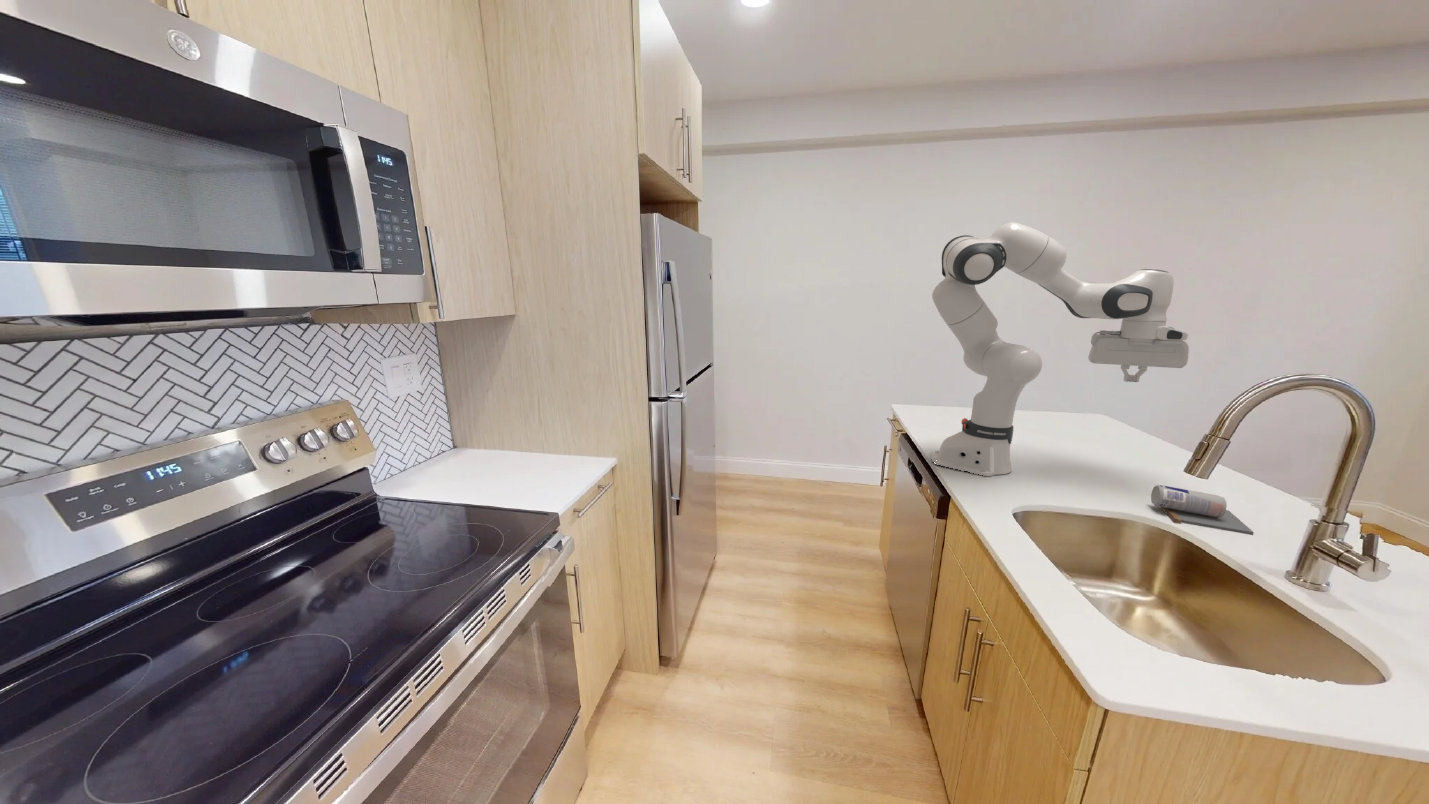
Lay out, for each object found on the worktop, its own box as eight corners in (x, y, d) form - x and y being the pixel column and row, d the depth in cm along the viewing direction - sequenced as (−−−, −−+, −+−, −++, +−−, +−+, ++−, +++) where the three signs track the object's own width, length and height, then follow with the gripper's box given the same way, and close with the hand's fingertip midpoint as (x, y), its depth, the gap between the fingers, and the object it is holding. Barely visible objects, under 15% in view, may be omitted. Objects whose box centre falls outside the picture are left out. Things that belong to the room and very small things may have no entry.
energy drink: (1148, 493, 119) (1211, 504, 114) (1152, 509, 116) (1217, 522, 111) (1157, 480, 116) (1223, 491, 110) (1162, 496, 112) (1229, 509, 107)
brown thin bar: (1174, 522, 110) (1175, 518, 110) (1154, 499, 122) (1155, 496, 121) (1180, 523, 109) (1181, 520, 109) (1160, 500, 121) (1161, 497, 121)
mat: (1181, 522, 110) (1182, 520, 110) (1163, 502, 120) (1164, 500, 120) (1253, 534, 104) (1253, 532, 104) (1228, 512, 114) (1228, 510, 114)
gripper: (1095, 331, 127) (1086, 380, 130) (1196, 333, 118) (1184, 387, 121) (1090, 329, 132) (1081, 376, 136) (1187, 331, 123) (1175, 382, 126)
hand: (1130, 381), depth 128 cm, fingers closed
